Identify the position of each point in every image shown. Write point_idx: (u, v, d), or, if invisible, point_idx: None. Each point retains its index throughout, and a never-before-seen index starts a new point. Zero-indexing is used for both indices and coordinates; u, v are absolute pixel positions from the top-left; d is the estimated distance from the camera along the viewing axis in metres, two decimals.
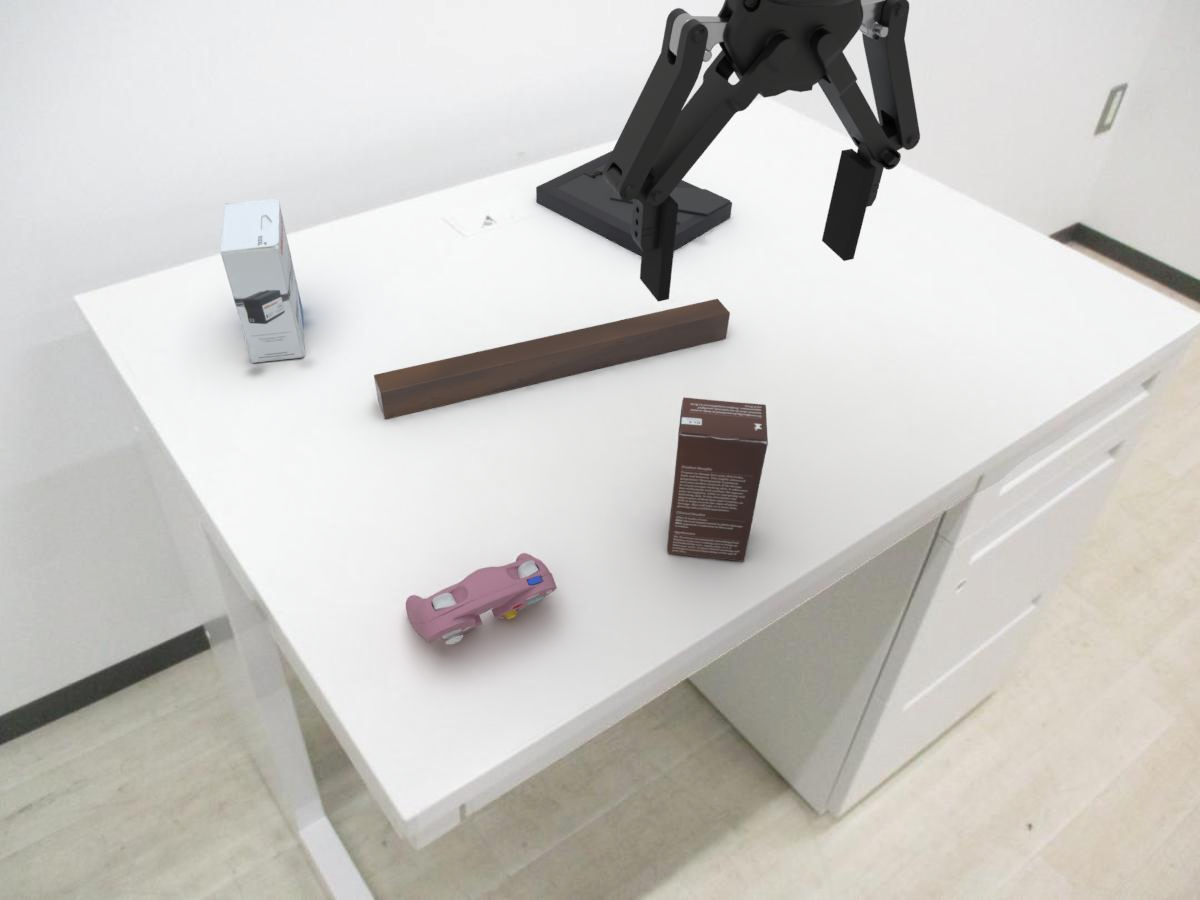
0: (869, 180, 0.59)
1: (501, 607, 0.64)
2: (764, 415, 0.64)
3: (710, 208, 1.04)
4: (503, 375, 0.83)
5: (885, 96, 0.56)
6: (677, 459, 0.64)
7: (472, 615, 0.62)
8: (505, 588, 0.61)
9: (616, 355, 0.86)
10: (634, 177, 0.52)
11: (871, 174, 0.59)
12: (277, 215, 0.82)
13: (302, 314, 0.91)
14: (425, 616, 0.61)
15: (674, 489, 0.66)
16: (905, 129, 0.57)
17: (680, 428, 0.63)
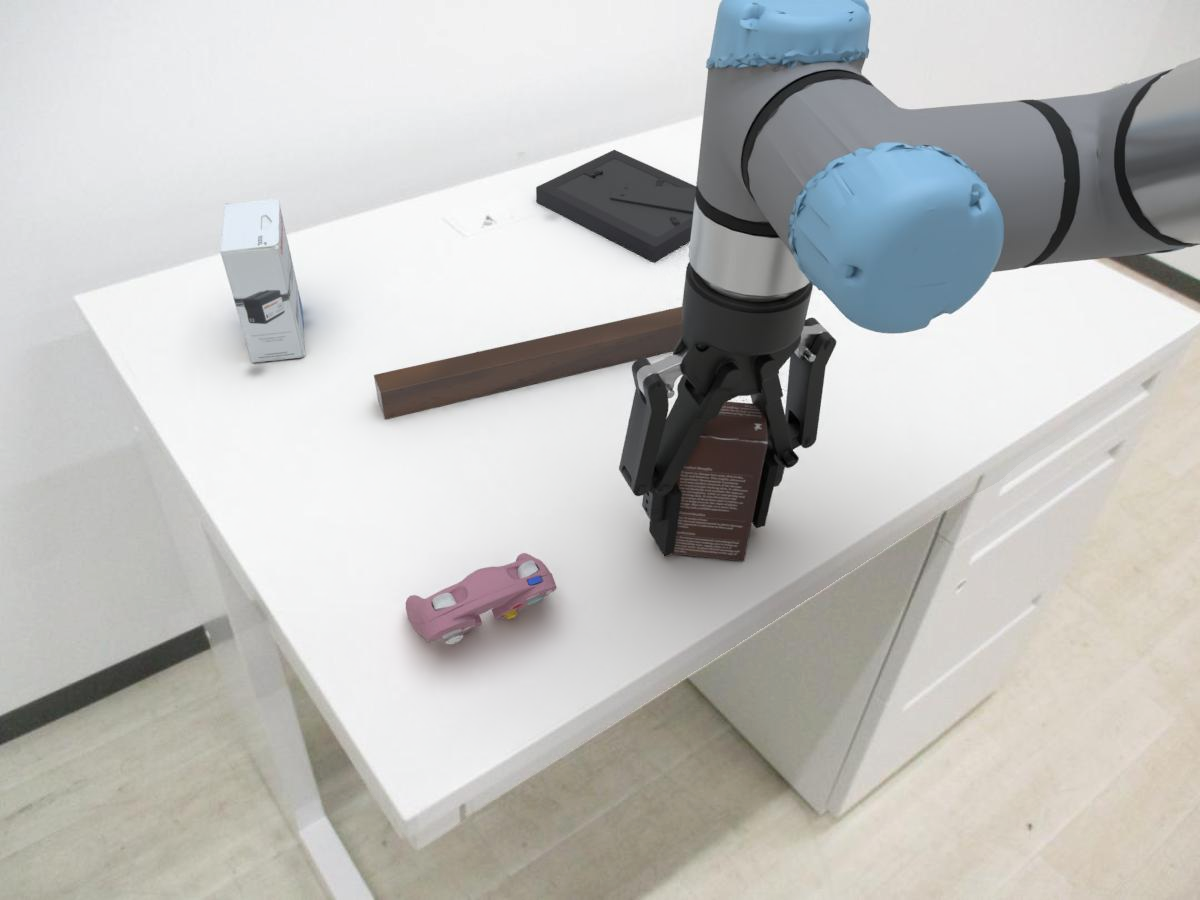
0: (773, 473, 0.68)
1: (501, 607, 0.64)
2: None
3: None
4: (503, 375, 0.83)
5: (797, 402, 0.66)
6: None
7: (472, 615, 0.62)
8: (505, 588, 0.61)
9: (616, 355, 0.86)
10: (642, 481, 0.63)
11: (774, 469, 0.68)
12: (277, 215, 0.82)
13: (302, 314, 0.91)
14: (425, 616, 0.61)
15: None
16: (806, 432, 0.67)
17: None
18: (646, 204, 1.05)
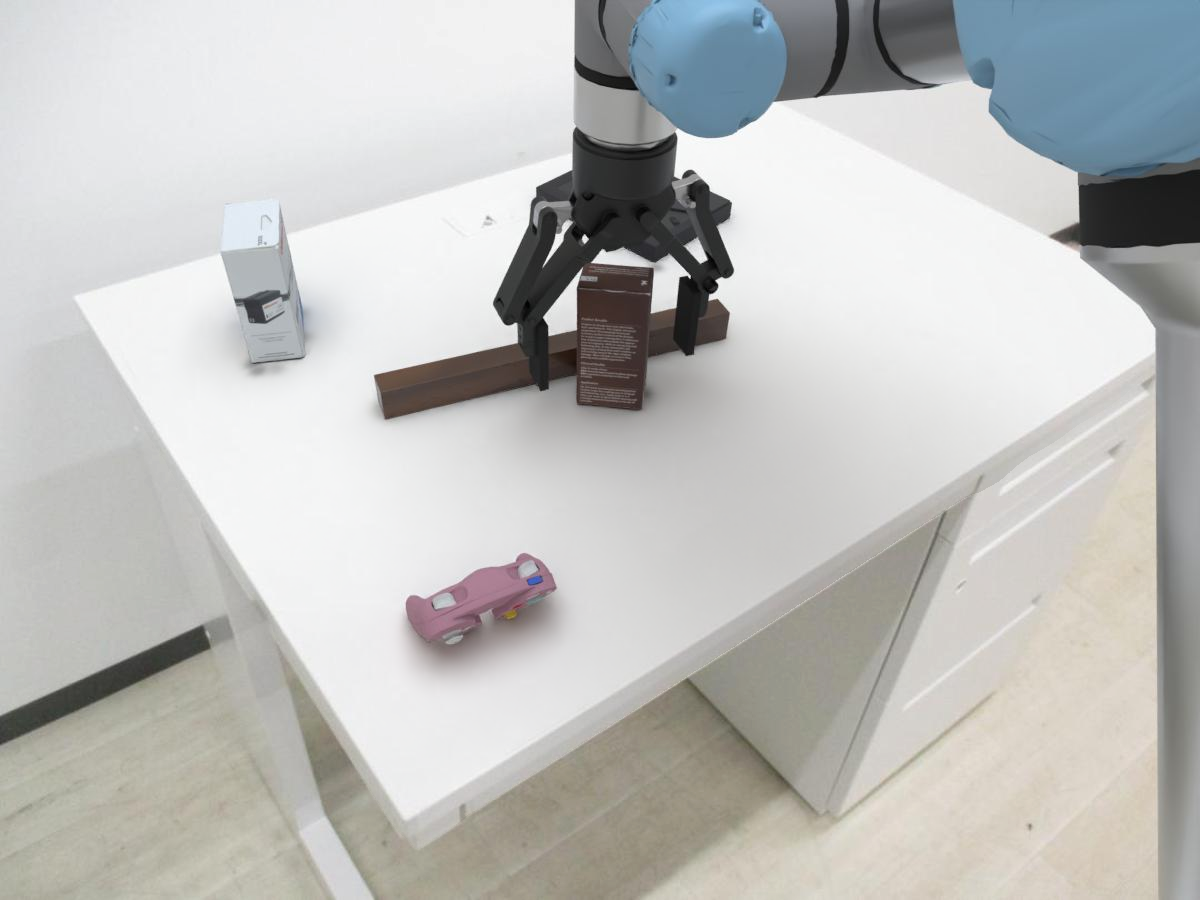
0: (697, 301, 0.79)
1: (501, 607, 0.64)
2: (651, 275, 0.76)
3: (710, 208, 1.04)
4: (503, 375, 0.83)
5: (704, 242, 0.77)
6: (577, 312, 0.76)
7: (472, 615, 0.62)
8: (505, 588, 0.61)
9: None
10: (512, 310, 0.72)
11: (698, 297, 0.79)
12: (277, 215, 0.82)
13: (302, 314, 0.91)
14: (425, 616, 0.61)
15: (577, 341, 0.78)
16: (721, 265, 0.78)
17: (578, 283, 0.75)
18: None
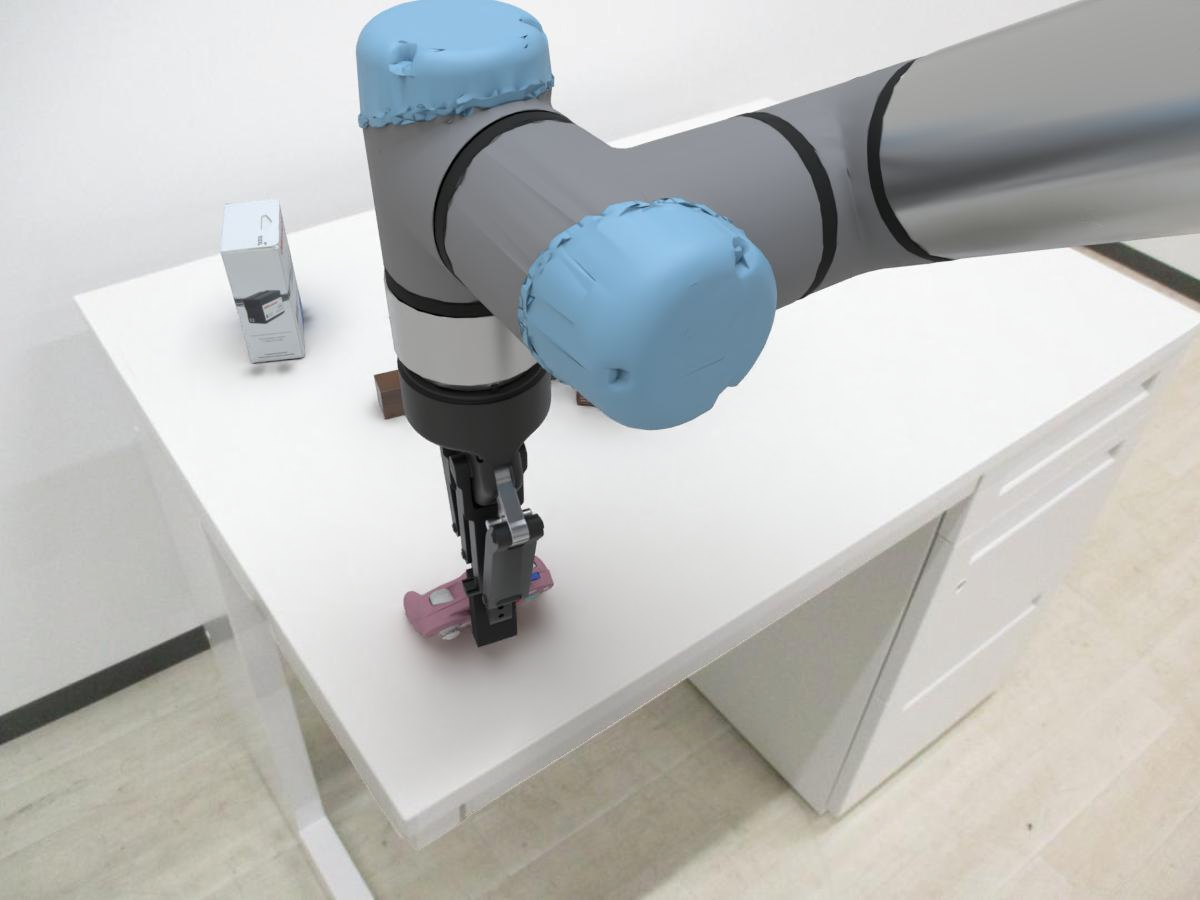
0: None
1: None
2: None
3: None
4: None
5: None
6: None
7: (469, 611, 0.62)
8: None
9: None
10: (453, 516, 0.58)
11: None
12: (277, 215, 0.82)
13: (302, 314, 0.91)
14: (422, 612, 0.61)
15: None
16: (484, 587, 0.54)
17: None
18: None
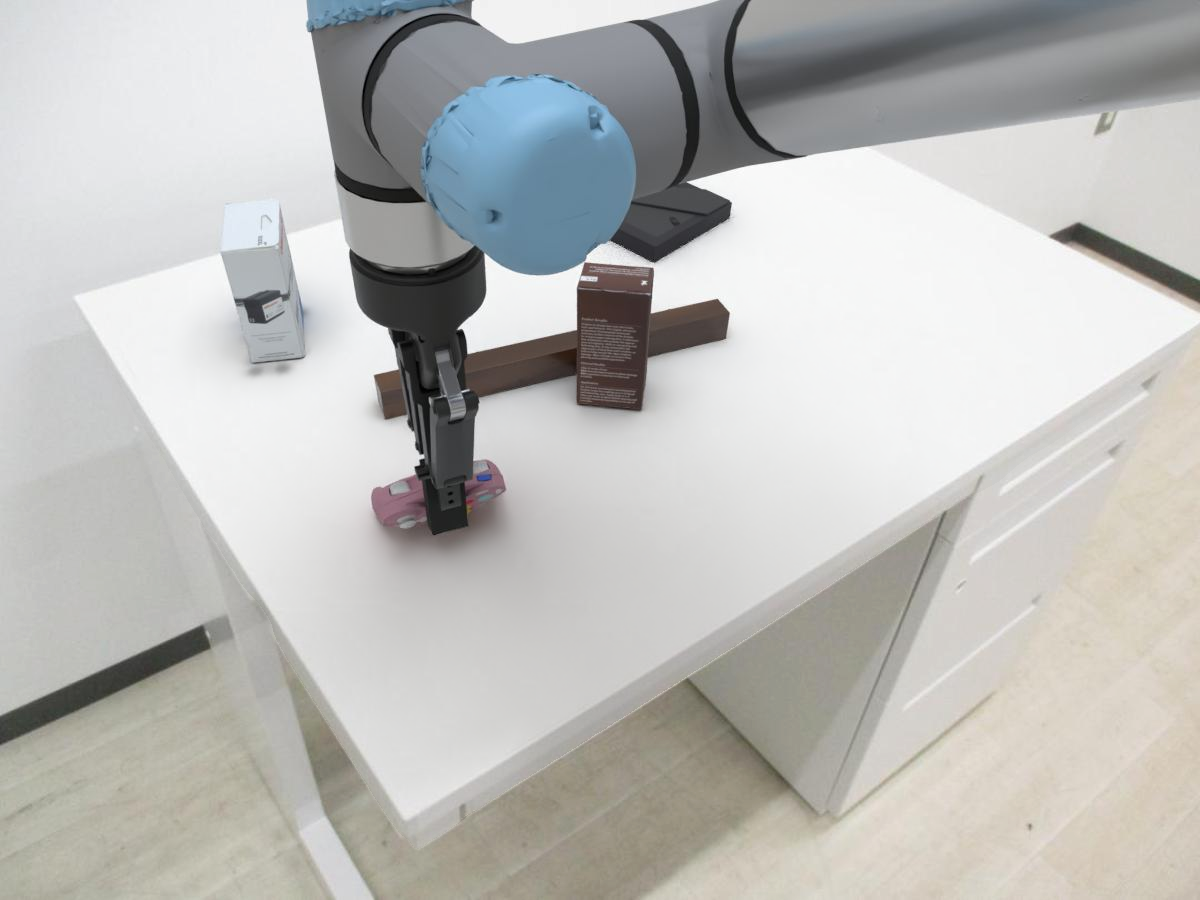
0: None
1: None
2: (651, 275, 0.76)
3: (710, 208, 1.04)
4: (503, 375, 0.83)
5: None
6: (577, 312, 0.76)
7: None
8: None
9: None
10: (407, 412, 0.65)
11: None
12: (277, 215, 0.82)
13: (302, 314, 0.91)
14: (382, 500, 0.68)
15: (577, 341, 0.78)
16: (433, 468, 0.61)
17: (578, 283, 0.75)
18: (646, 204, 1.05)
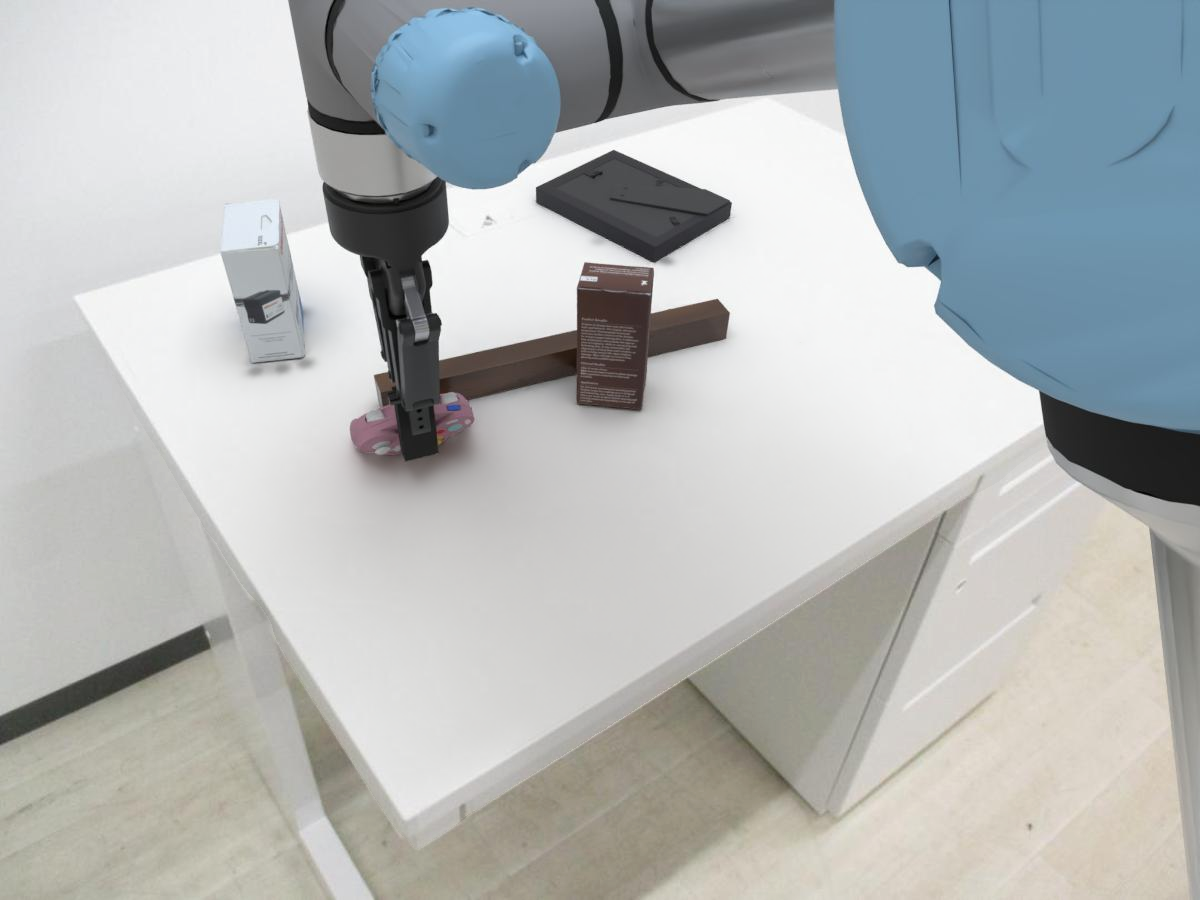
0: (396, 403, 0.70)
1: None
2: (651, 275, 0.76)
3: (710, 208, 1.04)
4: (503, 375, 0.83)
5: None
6: (577, 312, 0.76)
7: None
8: None
9: None
10: (381, 343, 0.70)
11: None
12: (277, 215, 0.82)
13: (302, 314, 0.91)
14: (359, 428, 0.73)
15: (577, 341, 0.78)
16: (402, 391, 0.66)
17: (578, 283, 0.75)
18: (646, 204, 1.05)
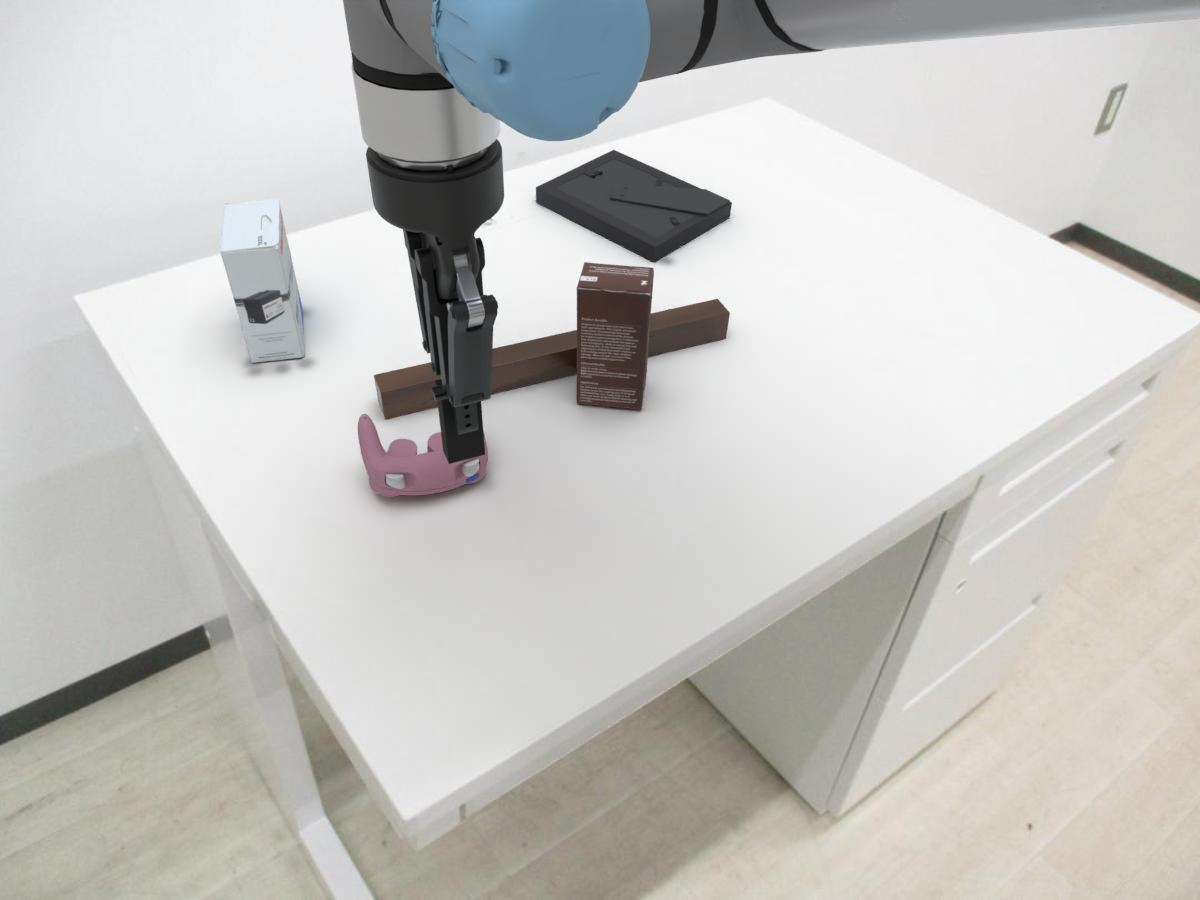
0: (440, 400, 0.64)
1: None
2: (651, 275, 0.76)
3: (710, 208, 1.04)
4: (503, 375, 0.83)
5: None
6: (577, 312, 0.76)
7: None
8: (447, 486, 0.73)
9: None
10: (423, 333, 0.65)
11: None
12: (277, 215, 0.82)
13: (302, 314, 0.91)
14: (375, 480, 0.72)
15: (577, 341, 0.78)
16: (450, 385, 0.60)
17: (578, 283, 0.75)
18: (646, 204, 1.05)
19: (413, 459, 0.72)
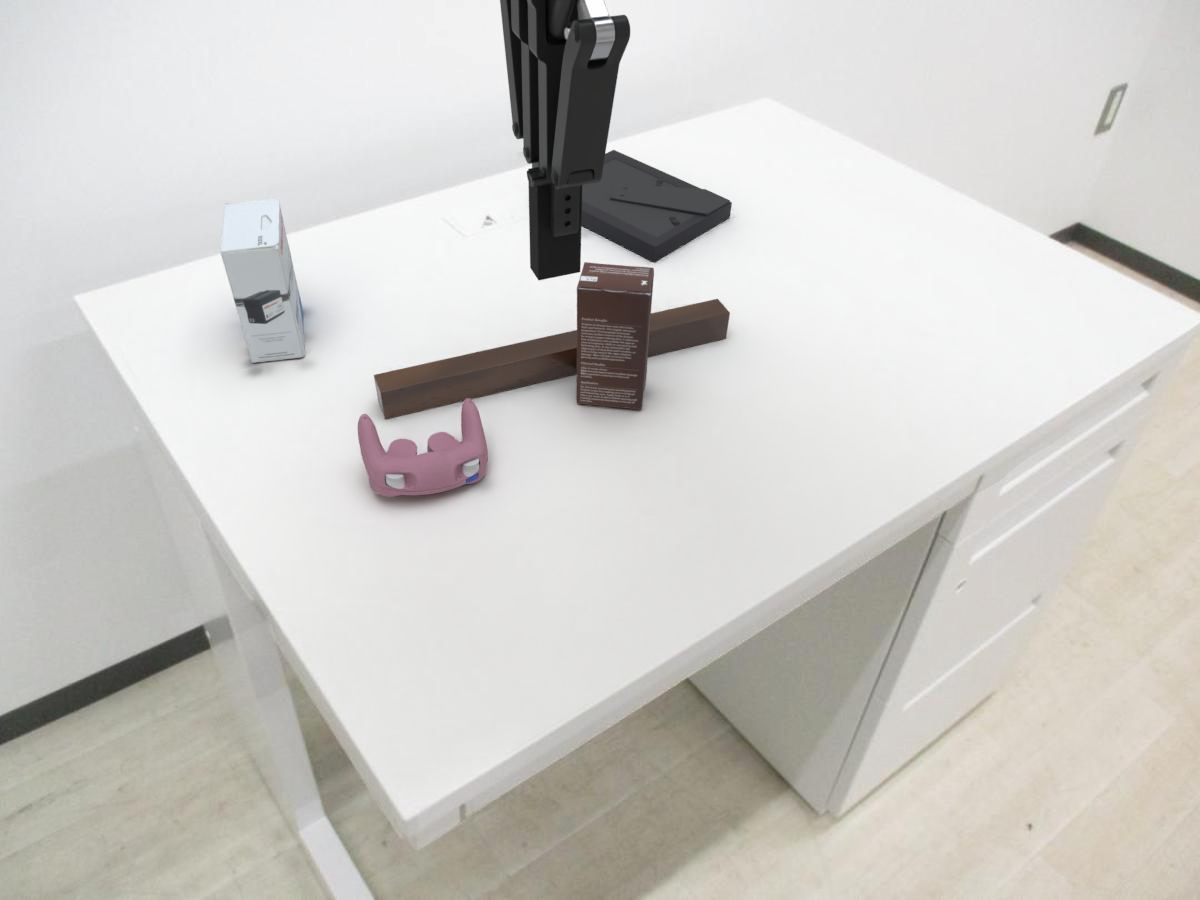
0: (535, 191, 0.53)
1: None
2: (651, 275, 0.76)
3: (710, 208, 1.04)
4: (503, 375, 0.83)
5: None
6: (577, 312, 0.76)
7: None
8: (447, 486, 0.73)
9: None
10: (514, 113, 0.54)
11: None
12: (277, 215, 0.82)
13: (302, 314, 0.91)
14: (375, 480, 0.72)
15: (577, 341, 0.78)
16: (555, 157, 0.49)
17: (578, 283, 0.75)
18: (646, 204, 1.05)
19: (413, 459, 0.72)
